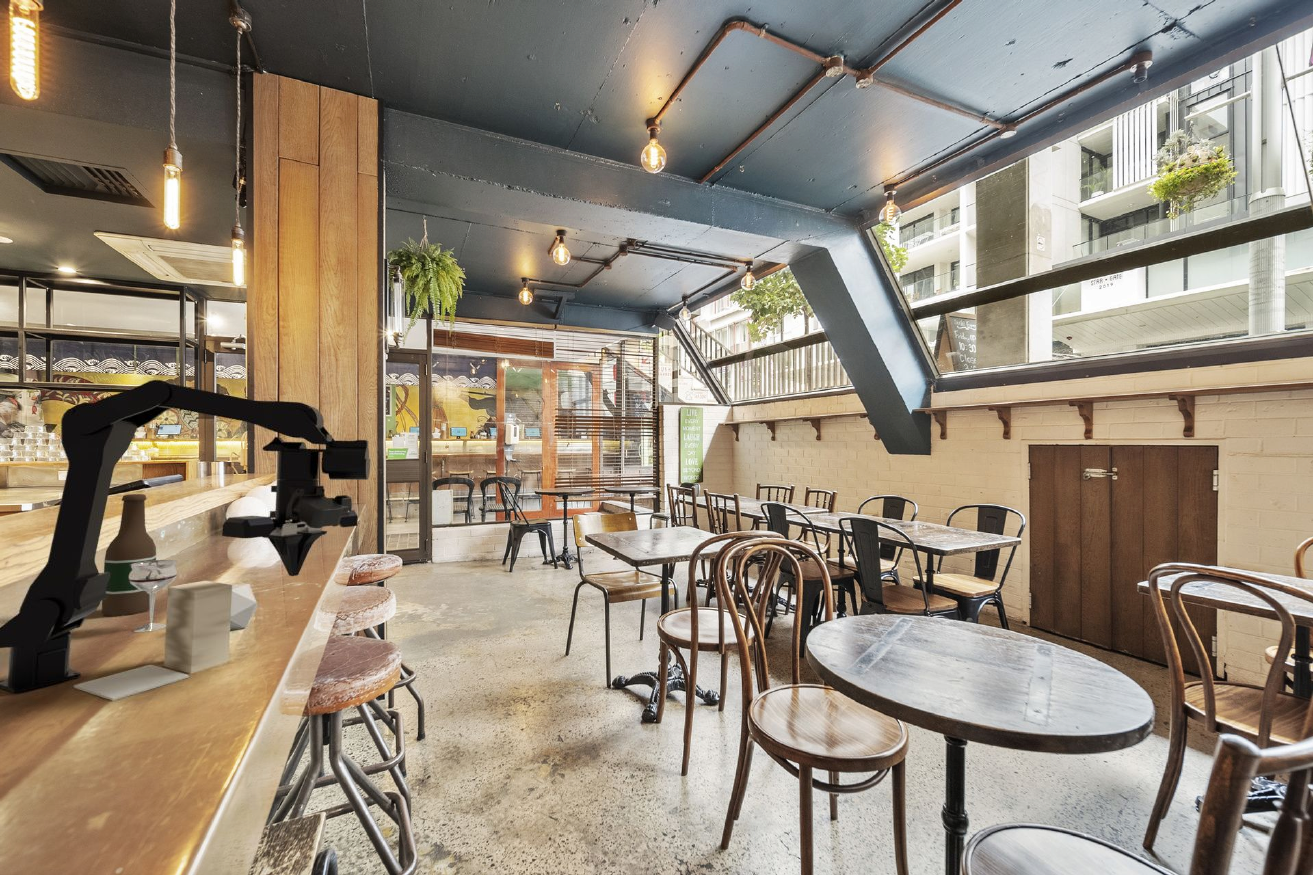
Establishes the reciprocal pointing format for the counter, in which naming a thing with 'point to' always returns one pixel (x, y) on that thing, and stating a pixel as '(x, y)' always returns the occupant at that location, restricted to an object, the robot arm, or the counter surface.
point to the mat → (130, 682)
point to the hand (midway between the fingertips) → (293, 575)
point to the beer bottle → (128, 560)
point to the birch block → (197, 626)
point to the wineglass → (152, 583)
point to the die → (242, 606)
